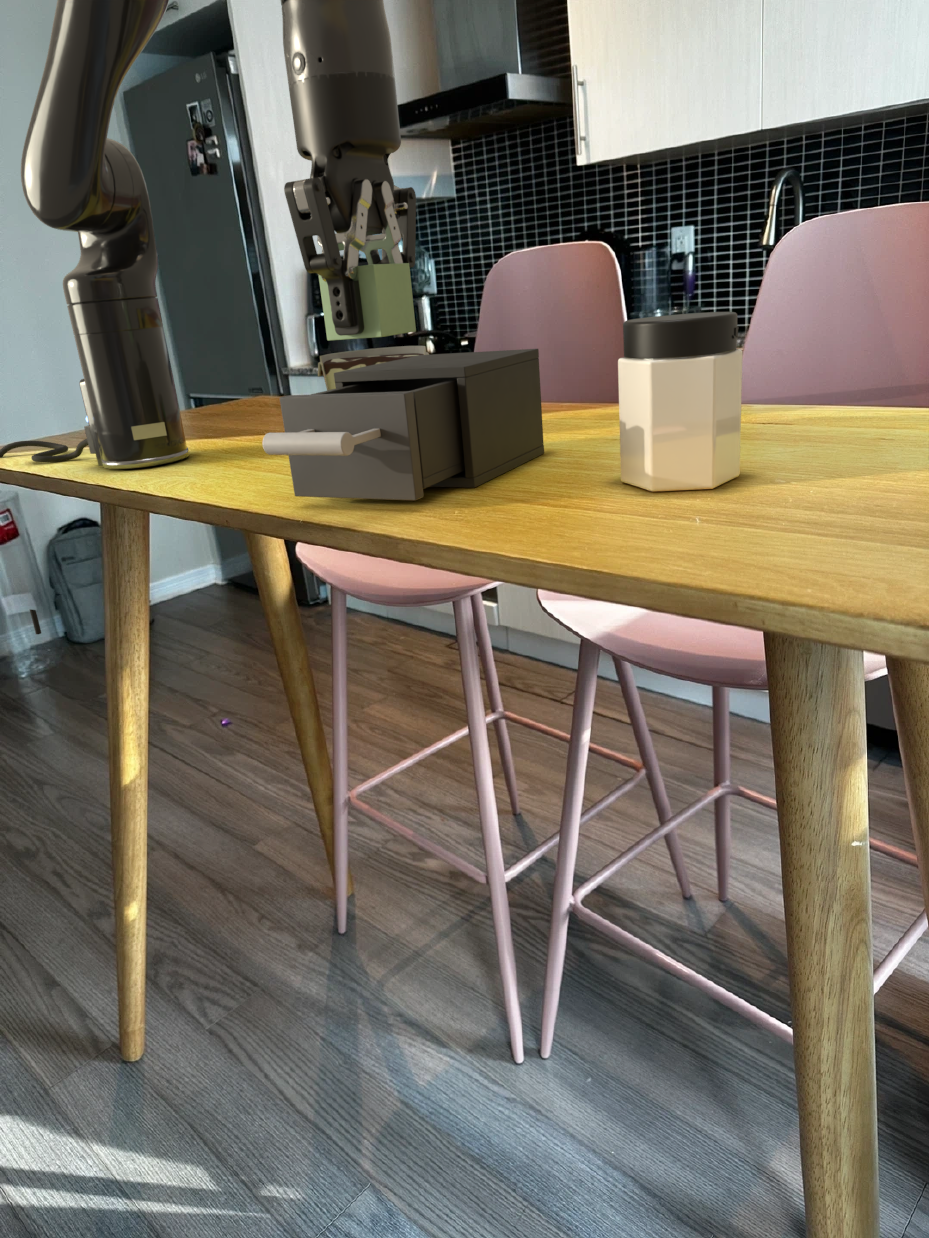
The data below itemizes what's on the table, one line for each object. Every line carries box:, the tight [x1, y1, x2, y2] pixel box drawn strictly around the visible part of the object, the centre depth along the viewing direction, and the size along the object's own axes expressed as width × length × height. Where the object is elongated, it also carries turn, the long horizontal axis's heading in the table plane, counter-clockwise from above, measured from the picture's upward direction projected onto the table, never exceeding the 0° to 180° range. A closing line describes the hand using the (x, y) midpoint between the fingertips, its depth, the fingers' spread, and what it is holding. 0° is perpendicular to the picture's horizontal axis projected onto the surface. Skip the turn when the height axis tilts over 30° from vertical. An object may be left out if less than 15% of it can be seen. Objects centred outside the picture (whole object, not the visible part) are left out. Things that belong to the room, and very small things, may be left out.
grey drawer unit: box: [334, 348, 545, 489], centre depth 79 cm, size 15×13×10 cm
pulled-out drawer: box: [262, 378, 465, 501], centre depth 70 cm, size 19×11×8 cm, turn 152°
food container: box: [317, 345, 430, 391], centre depth 97 cm, size 12×6×10 cm, turn 84°
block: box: [317, 263, 417, 342], centre depth 67 cm, size 5×5×5 cm
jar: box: [617, 311, 743, 492], centre depth 66 cm, size 9×8×12 cm
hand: (371, 330), depth 68 cm, fingers closed on block, 5 cm apart
